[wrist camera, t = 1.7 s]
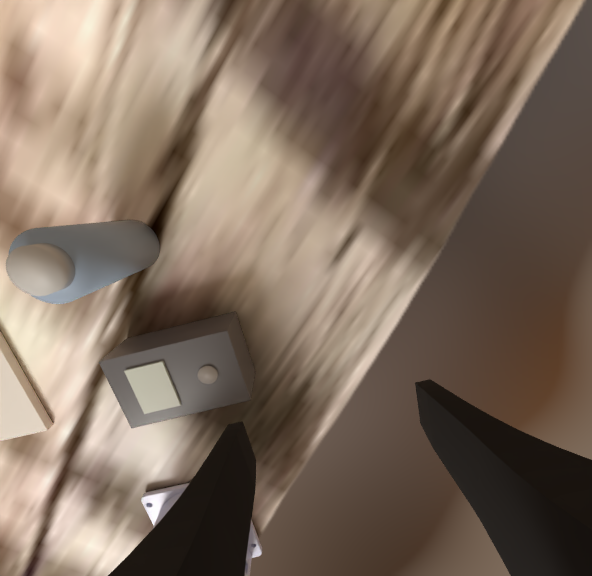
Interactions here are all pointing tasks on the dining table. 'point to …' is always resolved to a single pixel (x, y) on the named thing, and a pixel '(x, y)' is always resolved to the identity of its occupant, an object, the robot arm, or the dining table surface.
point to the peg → (79, 258)
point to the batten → (18, 399)
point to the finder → (181, 370)
